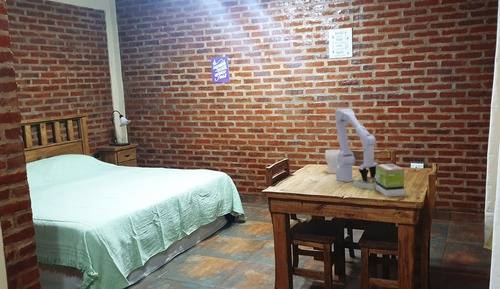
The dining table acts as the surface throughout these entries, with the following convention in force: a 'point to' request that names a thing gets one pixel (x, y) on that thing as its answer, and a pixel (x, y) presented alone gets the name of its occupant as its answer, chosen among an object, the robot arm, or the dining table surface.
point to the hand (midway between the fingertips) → (368, 179)
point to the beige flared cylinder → (332, 160)
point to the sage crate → (364, 185)
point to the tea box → (390, 180)
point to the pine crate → (369, 180)
